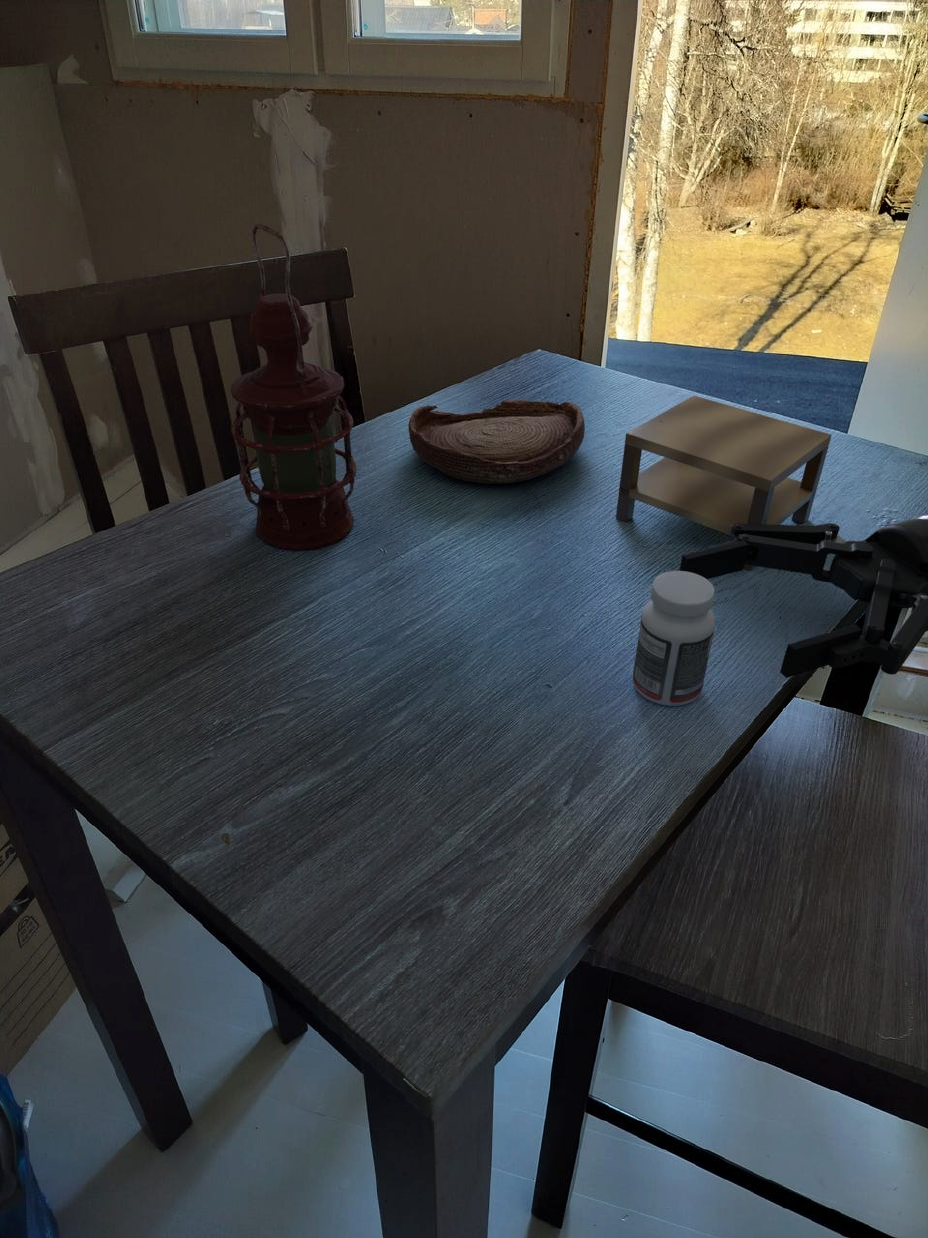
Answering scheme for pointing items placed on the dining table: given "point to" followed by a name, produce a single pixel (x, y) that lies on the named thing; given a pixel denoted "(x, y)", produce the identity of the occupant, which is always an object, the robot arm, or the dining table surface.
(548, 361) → the dining table surface
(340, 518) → the lantern
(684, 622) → the pill bottle
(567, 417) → the basket
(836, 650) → the robot arm
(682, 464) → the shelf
